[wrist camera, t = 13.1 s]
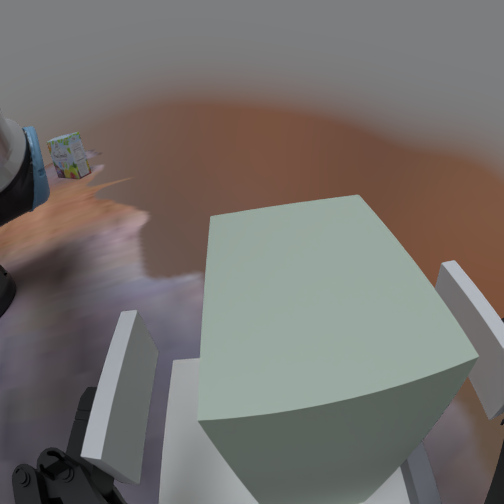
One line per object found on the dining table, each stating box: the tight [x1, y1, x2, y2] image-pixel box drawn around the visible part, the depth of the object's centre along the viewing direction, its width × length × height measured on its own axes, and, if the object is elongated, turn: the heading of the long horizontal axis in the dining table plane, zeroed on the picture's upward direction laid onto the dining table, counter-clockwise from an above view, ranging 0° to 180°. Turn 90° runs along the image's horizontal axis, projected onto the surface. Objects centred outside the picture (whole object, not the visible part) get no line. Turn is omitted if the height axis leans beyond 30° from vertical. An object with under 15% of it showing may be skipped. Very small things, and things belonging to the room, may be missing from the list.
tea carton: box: [197, 195, 479, 504], centre depth 11 cm, size 5×7×14 cm
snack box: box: [47, 132, 91, 179], centre depth 91 cm, size 21×6×15 cm, turn 57°
